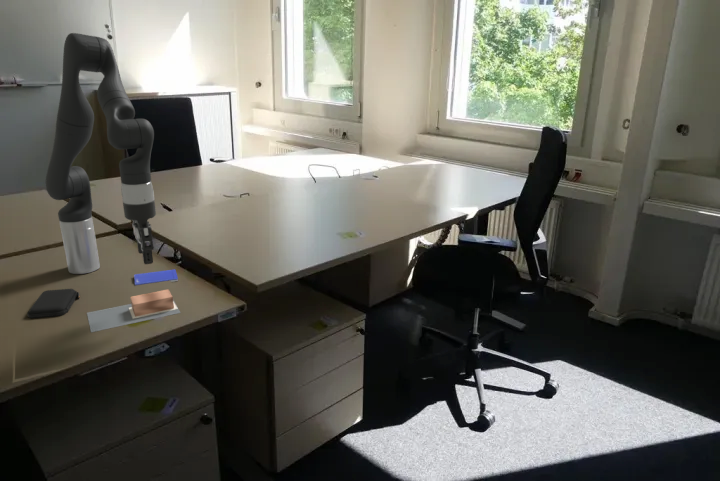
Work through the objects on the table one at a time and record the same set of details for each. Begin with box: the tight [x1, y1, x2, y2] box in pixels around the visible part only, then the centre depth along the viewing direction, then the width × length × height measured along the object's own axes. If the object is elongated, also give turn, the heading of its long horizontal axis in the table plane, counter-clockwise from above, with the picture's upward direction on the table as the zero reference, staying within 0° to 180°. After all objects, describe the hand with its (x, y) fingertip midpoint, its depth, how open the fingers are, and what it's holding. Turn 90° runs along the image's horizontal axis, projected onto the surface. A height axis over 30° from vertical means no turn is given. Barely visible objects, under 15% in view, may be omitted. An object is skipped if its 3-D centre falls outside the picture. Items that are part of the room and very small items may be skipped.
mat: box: [86, 299, 182, 333], centre depth 144 cm, size 12×22×1 cm, turn 120°
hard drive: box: [133, 269, 179, 286], centre depth 166 cm, size 2×8×12 cm
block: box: [130, 289, 174, 317], centre depth 145 cm, size 10×6×4 cm, turn 120°
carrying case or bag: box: [27, 288, 81, 319], centre depth 147 cm, size 11×3×15 cm
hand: (145, 258), depth 141 cm, fingers open, 8 cm apart
